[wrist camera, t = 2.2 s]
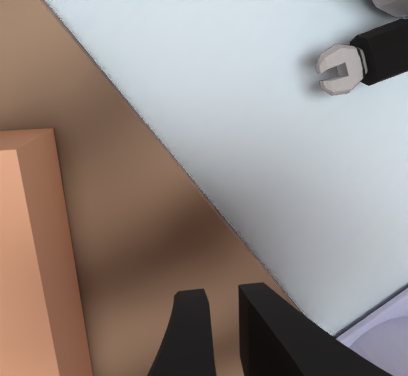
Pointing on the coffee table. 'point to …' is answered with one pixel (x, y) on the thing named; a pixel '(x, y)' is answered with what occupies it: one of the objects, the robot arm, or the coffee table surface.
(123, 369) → the tong board
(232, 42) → the coffee table surface
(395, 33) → the robot toy
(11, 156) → the tong arm
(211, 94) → the coffee table surface
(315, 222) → the coffee table surface
